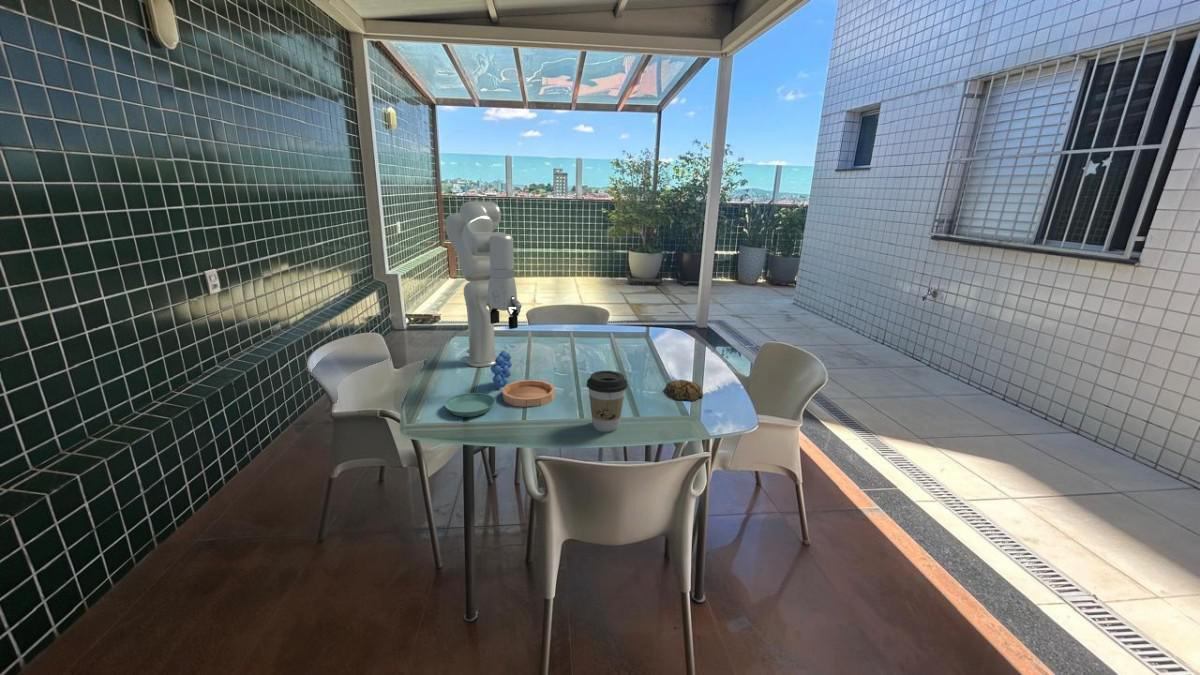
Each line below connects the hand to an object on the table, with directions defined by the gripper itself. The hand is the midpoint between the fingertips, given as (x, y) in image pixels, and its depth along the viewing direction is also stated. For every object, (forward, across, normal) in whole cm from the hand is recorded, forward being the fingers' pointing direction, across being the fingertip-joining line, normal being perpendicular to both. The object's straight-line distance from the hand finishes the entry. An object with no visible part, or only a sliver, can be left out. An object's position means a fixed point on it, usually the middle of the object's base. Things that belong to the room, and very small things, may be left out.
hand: (504, 325), depth 159 cm
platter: (+21, +13, -1) cm, 25 cm away
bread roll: (+22, +48, +37) cm, 64 cm away
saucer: (+21, +8, -20) cm, 30 cm away
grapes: (+21, -1, -2) cm, 21 cm away
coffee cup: (+21, +45, 0) cm, 50 cm away
